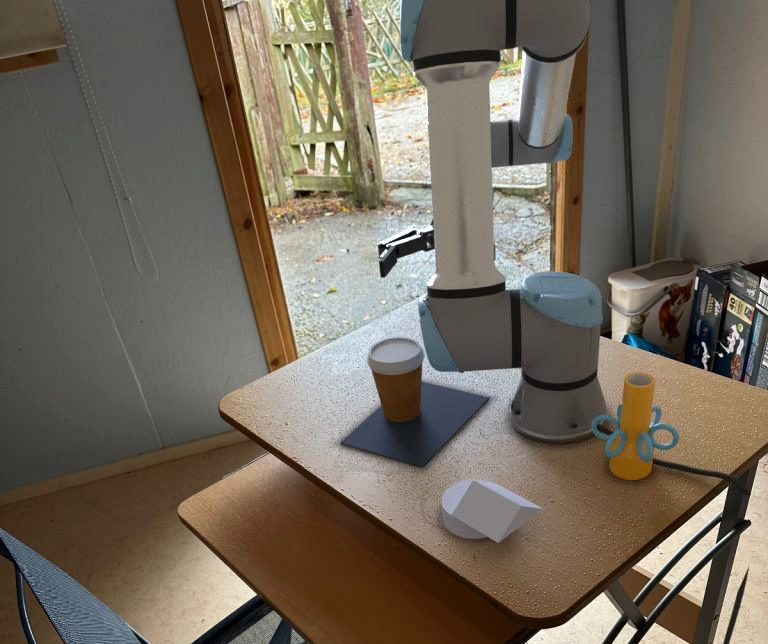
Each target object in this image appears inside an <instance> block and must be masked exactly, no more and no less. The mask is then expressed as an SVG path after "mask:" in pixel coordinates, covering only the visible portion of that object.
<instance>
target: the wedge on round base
mask: <svg viewBox="0 0 768 644" xmlns="http://www.w3.org/2000/svg"><path fill="white" fill-rule="evenodd" d="M441 509H442V520H443V521H442V522H443V525H444V527H445V529H447V531H448V532H450V533H451V534H453V535H455V536H457V537H459V538H463V539H468V540H477V539H484V538H485V539H486V538H489V539H491V540H492V541H494V542H496V543H498V544H499V543H500V542H502V541H503V540H505V538H507V537H508V536H510V535H511V534H512V533H513V532H515V531H516V530H518V529H519V528H520V527H521V526H523V525H524V524H525V523H527V522H528V521H529V520H531V519H532V518H533V517H535V516H536V515H537V514H539V513H540V512H541V511H542V510H544V508H543V507H541V506H539V505H538V504H535V503H533V502H531V501H529V500H528V499H525V498H524V497H522V496H520V495H518V494H516V493H514V492H512V491H510V490H509V489H507V488H505V487H503V486H501V485H499V484H497V483H495V482H493V481H490V480H486V479H480V478H479V479H478V478H475V479H474V478H472V479H466V480H465V479H464V480H461V481H458V482H456V483H454V484H452V485H451V486H449V487H447V489H445V491H444V492H443V494H442V497H441Z"/></svg>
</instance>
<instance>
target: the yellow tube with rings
mask: <svg viewBox="0 0 768 644" xmlns="http://www.w3.org/2000/svg"><path fill="white" fill-rule="evenodd" d="M623 379H624V380H623V390H622V401H621V402H620V403H619V404H618V405H617V410H616V417H617V418H616V417H615V416H613V415H609V414H606V415H599V416H597V417H595V418H594V419H593V421H592V423H591V429H592V432H593V433H594V436H595V437H596V438H598V439H600V440H603V441H605V445H604V455H605V456H606V457H607V458H609V465H608V467H609V470H610V472H611V473H612V474H613V475H614V476H615V477H617V478H619V479H623V480H627V481H636V480H637V481H638V480H642V479H644V478H646V477H648V476H649V475H650V474H651V472H652V469H653V464H652V462H653V458H654V456H655V455H654V454H655V449H658V450H660V451H668V450H671V449H673V448H675V447H676V446H677V445H678V444H679V440H680V434H679V432H678V430H677V429H676V428H675V427H674V426H672V425H671V424H668V423H660V421H661V418H662V409H661V406H658V405H653V404H654V397H655V396H654V395H655V386H656V378H655V376H653V374H650V373H647V372H640V371H636V372H631V373H629V374H627V375H626V376H624V378H623ZM653 413H655V416H654V419H653V421H652V422H651V420H652V414H653ZM601 420H606V421H608V422H610V423H612V425H613V426H614V431H613V433H612V434H611V435H607V434H605V433H603V432H601V431H598V430H597V423H598V422H599V421H601ZM658 430H665V431H667V432H669V433H670V434H671V435H672V441H671V442H668V443H665V444H664V443H663V444H662V443H659V442H657V441H656V440H655V438H654V434H655V432H656V431H658Z"/></svg>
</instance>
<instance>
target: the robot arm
mask: <svg viewBox="0 0 768 644" xmlns="http://www.w3.org/2000/svg"><path fill="white" fill-rule="evenodd" d="M399 13H400V15H399V34H400V40H399V41H400V44H399V48H400V55H401V59H402V60H403V61H404V62H408V63H411V62H412V71H413V72H412V73H413V77H414V78H415V79H416V80H418V82H419V83H421V85H422V86H423V87H424V89H425V98H426V99H425V100H426V113H427V114H426V115H427V133H428V151H429V152H428V153H429V169H430V186H431V188H430V189H431V202H432V203H431V206H432V219H431V222H430V225H429V226H428V227H425V228H424V229H418V226H417V225H415V224H414V225H411V226H409V227H408V228H407V229H405V230H402V231H401V232H399V233H397V234H395V235H393V236H391V237H388V238H386V239H384V240H382V241H380V242H378V243H377V251H378V259H379V261H378V266H379V267H378V268H379V276H380V278H381V279H382V278H383V279H384V278H386V277H387V276H388V275H389V273H390V272H391V271H392V270H393V269H394V267H395V266H396V264H397V263H398V260H399V259H401V258H404V257H406V256H409V255H413V254H416V253H418V252H425V253H427V252H430V251H433V250H434V257H435V272H434V274H433V275H432V277H430V279H429V280H428V281H427V282H426V291H427V293H426V294H422V295H421V296H420V297H419V298H418V299H417V300H418V301H417V308H418V309H417V310H418V315H419V326H420V331H421V337H422V341H423V346H424V351H425V355H426V357H427V360H428V363H429V365H430V366H431V367H432V369H433V370H435V371H436V372H438V373H456V372H457V373H459V374H464V373H465V372H474V371H475V372H478V371H480V372H481V371H494V370H495V371H497V370H510V369H511V370H512V369H520V370H521V371H520V373H521V375H520V376H521V377H520V379H519V381H518V384H517V387H516V389H515V393H514V395H513V398H511V393H510V395H509V404H508V412H509V420H510V425H511V427H512V428H513V429H514V431H515V432H516V433H518V434H519V435H521V437H524V438H525V439H528V440H530V441H533V442H536V443H541V444H545V445H547V444H549V445H568V444H574V443H575V444H576V443H578V442H582V441H585V440H588V439H590V438H592V437H594V436H595V435H594V433H593V432H592V429H591V423H592V421H593V419H594V418H595V417H597V416H599V415H607V413H608V412H607V411H608V409H607V403H606V400H605V397H604V393H603V390H602V388H601V384H600V381H599V377H598V371H599V356H600V354H599V353H600V342H601V341H600V340H601V325H602V324H603V321H604V318H603V307H602V306H603V305H602V303H603V301H602V299H603V298H602V294H601V291H600V289H599V288H598V286H597V285H596V284H595V283H593V282H592V281H591V280H589V279H587V278H585V277H582V276H580V275H578V274H574V273H571V272H570V273H569V272H565V271H555V270H554V271H551V270H549V271H540V272H536V273H535V274H529V275H528V276H525V278H524V279H523V280H522V281H521V284H520V286H519V288H516V289H515V288H514V289H506V288H507V287H506V276H505V275H503V273H501V272H500V271H499V269H498V268H497V267H496V266H495V261H496V259H497V258H496V244H495V232H494V229H495V227H494V200H495V190H494V188H493V169H494V168H505V167H515V166H528V165H539V164H553V163H557V162H563V161H567V160H568V159H569V158H571V155H572V153H573V152H572V151H573V141H574V140H573V139H574V136H573V135H574V130H573V129H574V128H573V119H572V117H571V115H569V114H566V110H567V106H568V105H567V104H568V100H569V94H570V88H571V82H572V78H573V72H574V67H575V61H576V56H577V53H578V52H580V50H581V49H582V47H583V46H584V44H585V41H586V39H587V35H588V32H589V27H590V20H591V1H590V0H400V12H399ZM517 48H520V49H521V50H522V63H521V80H520V94H519V96H520V97H519V108H518V109H519V111H518V118H515V119H505V120H494V121H493V120H492V121H491V94H490V89H491V88H490V83H491V80H492V78H493V76H494V75H495V74H496V73H497V71H498V70H499V69H500V67H501V51H504V50H512V49H517ZM511 399H512V401H511ZM606 422H607V420H601V421H599V422H598V423H597V430H598V431H599V432H600V433H602V434H604V435H611V434H612V433H613V432H614V431H613V430H611V429H610V428H607V427H605V425H606ZM652 465H655V466H658V467H662V468H667V469H671V470H677V471H682V472H686V473H689V474H692V475H699V476H705V477H709V478H716V479H721V480H724V481H727V482H729V483H731V484H732V485H734V486H735V487H737V489H739V490H740V491H741V493H742V494H743V495H745V496H751V495H752V493H751V491H750V489H749V488H748V486H746V485H745V484H744V483H743V482H742V481H741V480H740V479H738V478H736V477H734V476H733V475H731V474H728V473H726V472H722V471H717V470H711V469H704V468H698V467H693V466H689V465H685V464H681V463H677V462H672V461H667V460H662V459H658V458H656V457H653V462H652ZM749 570H750V566H748V567H747V569H746V572H745V574H744V576H743V579H742V581H741V583H740V585H739V588H738V590H737V592H736V595H735V599H734V603H733V607H732V610H731V613H730V619H729V622H728V624H727V629H726V632H725V635H724V638H723V642H722V644H730V643H731V639H732V636H733V632H734V630H735V626H736V622H737V618H738V615H739V612H740V608H741V605H742V601H743V597H744V594H745V591H746V590H745V589H746V584H747V580H748V575H749Z"/></svg>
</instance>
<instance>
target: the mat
mask: <svg viewBox="0 0 768 644" xmlns="http://www.w3.org/2000/svg"><path fill="white" fill-rule="evenodd" d="M489 400H490V397H489V396H485V395H481V394H477V393H472V392H468V391H465V390H460V389H455V388H451V387H447V386H444V385H443V386H442V385H439V384H435V383H430V382H426V381H422V383H421V404H420V414H419V415H418V416H417V417H416V418H414V419H412V420H410V421H406V422H393V421H390V420H388V419H386V418H385V416H384V413H383V409H382V406H381V405H380V406H379V407H378V408H376V409H375V410H374V411H373V412H372V413H371V414H370V415H369V416H367V418H365V419H364V420H363V421H362V422H361V423H360V424H359V425H358V426H357V427H355V428H354V429H353V430H352V431H351V432H350V433H349V434H347V435H346V436H345V437H344V438H343V439H341V440H340V442H339V444H341V445H344V446H347V447H351V448H353V449H356V450H360V451H364V452H367V453H370V454H373V455H377V456H381V457H383V458H387V459H391V460H394V461H397V462H400V463H404V464H407V465H410V466H413V467H417V468H420V469H423V468H424V467H425V466H426V465H427V464H428V463H429V462H430V461H431V460H432V459H433V458H434V457H435V456H436V455H437V454H438V453H439V451H441V450H442V449H443V447H444V446H446V444H447V443H448V442H449V441H450V440H452V438H453V437H454V436H455V435H456V434H457V433H458V432H459V431H460V430H461V429H462V428H463V427H464V425H466V424H467V422H469V420H471V418H473V416H474V415H475V414H476V413H477V412H478V411H479V410H480V409H481V408H482V407H483V406H484V405H485V404H486V403H487V402H488V401H489Z"/></svg>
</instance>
